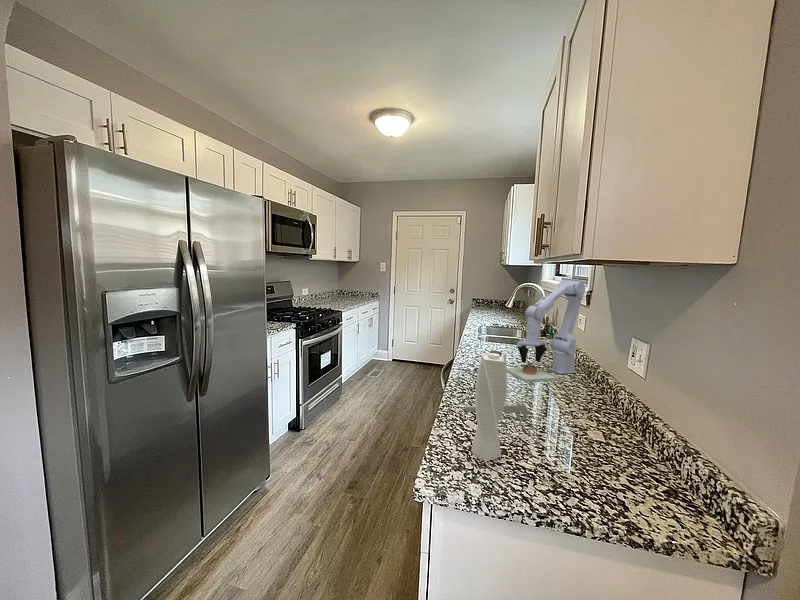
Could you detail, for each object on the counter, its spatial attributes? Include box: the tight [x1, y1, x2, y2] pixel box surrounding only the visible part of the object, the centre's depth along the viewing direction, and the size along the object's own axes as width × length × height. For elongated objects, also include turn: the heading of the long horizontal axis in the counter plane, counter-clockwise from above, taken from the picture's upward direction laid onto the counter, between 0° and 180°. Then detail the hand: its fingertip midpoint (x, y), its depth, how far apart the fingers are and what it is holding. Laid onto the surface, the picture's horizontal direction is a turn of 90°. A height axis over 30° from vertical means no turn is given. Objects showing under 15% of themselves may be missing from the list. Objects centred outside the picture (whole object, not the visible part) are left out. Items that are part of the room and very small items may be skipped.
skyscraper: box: [470, 350, 508, 463], centre depth 84 cm, size 8×8×28 cm
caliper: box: [461, 401, 528, 422], centre depth 109 cm, size 20×1×6 cm, turn 71°
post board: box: [506, 362, 558, 383], centre depth 153 cm, size 16×16×6 cm
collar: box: [522, 364, 538, 375], centre depth 153 cm, size 6×6×3 cm
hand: (530, 361), depth 152 cm, fingers open, 7 cm apart
